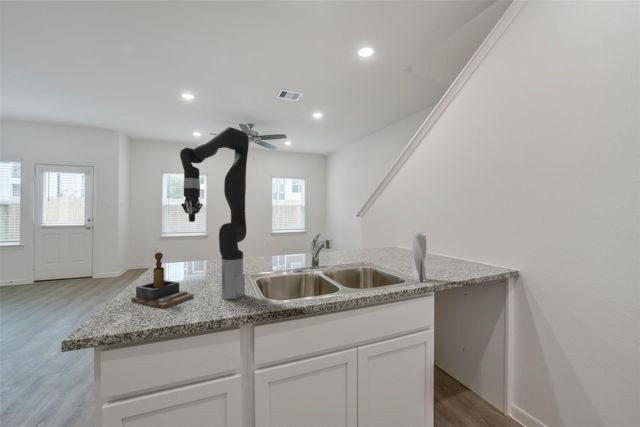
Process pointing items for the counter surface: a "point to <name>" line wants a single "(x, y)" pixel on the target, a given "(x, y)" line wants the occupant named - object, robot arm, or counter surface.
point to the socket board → (160, 295)
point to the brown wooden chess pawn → (158, 272)
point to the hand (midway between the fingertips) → (191, 221)
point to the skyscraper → (419, 256)
